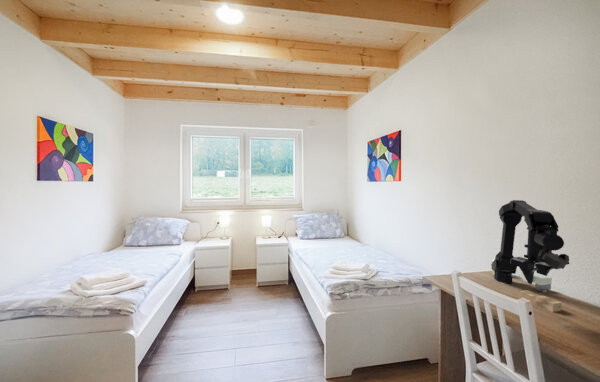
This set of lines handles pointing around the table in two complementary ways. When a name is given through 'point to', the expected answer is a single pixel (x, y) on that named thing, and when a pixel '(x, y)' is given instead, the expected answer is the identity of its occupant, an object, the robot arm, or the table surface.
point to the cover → (539, 279)
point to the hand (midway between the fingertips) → (535, 283)
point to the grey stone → (542, 287)
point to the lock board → (545, 302)
